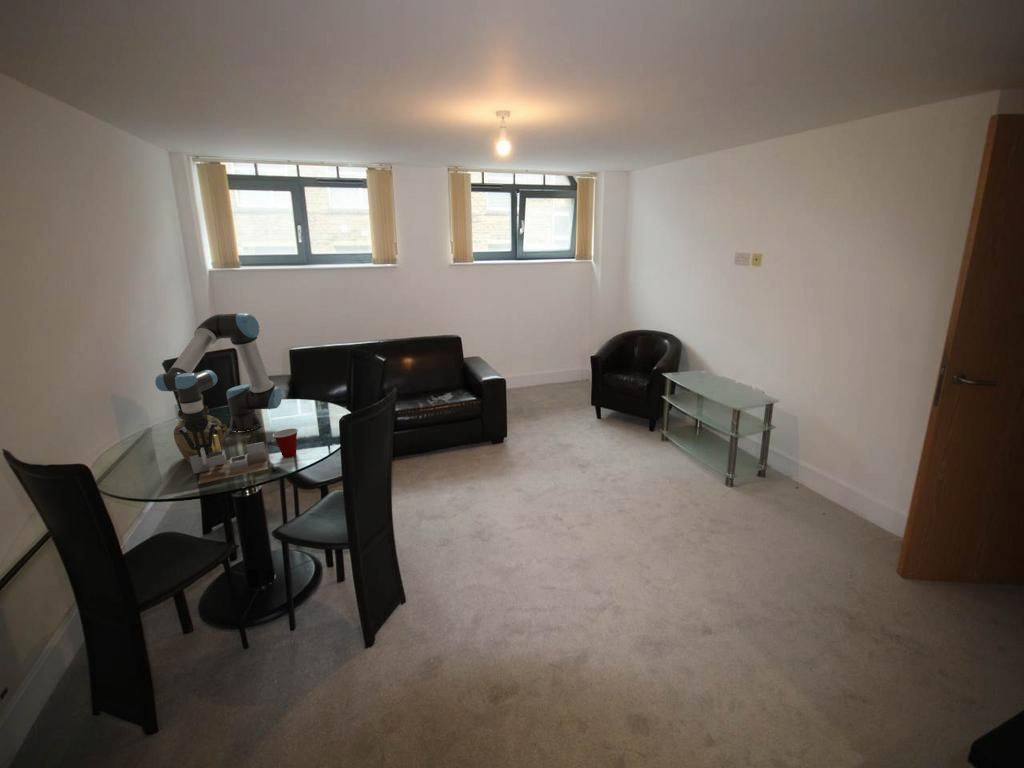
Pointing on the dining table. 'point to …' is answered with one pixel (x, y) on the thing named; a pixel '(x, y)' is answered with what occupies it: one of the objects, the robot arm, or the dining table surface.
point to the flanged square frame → (211, 459)
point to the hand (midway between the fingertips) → (205, 462)
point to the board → (226, 472)
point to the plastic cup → (287, 442)
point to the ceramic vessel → (182, 442)
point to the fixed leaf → (249, 456)
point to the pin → (216, 445)
